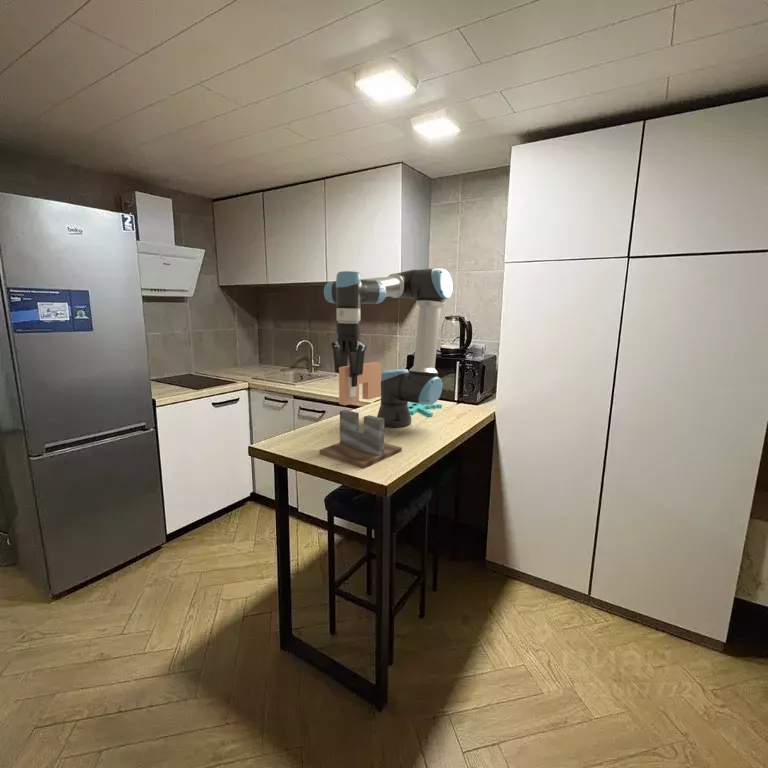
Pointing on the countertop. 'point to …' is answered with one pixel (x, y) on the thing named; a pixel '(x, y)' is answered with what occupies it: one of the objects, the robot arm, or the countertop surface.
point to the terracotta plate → (368, 378)
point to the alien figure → (422, 408)
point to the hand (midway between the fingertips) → (348, 395)
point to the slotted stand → (360, 441)
